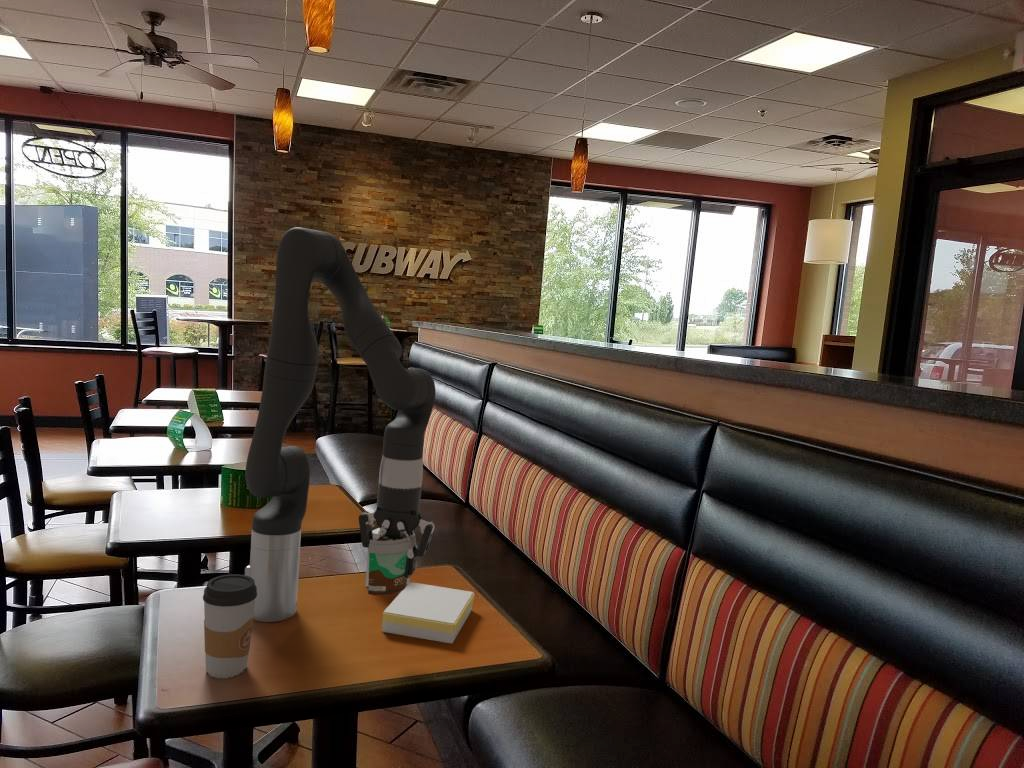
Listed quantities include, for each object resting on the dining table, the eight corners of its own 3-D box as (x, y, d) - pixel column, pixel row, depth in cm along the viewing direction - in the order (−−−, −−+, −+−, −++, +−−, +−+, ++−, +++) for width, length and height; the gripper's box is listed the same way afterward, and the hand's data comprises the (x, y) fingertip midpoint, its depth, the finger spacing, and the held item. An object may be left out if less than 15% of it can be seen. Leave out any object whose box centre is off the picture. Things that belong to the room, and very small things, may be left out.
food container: (398, 603, 119) (403, 546, 118) (364, 597, 120) (368, 540, 119) (421, 577, 131) (425, 525, 130) (390, 572, 132) (394, 521, 131)
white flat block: (381, 632, 135) (382, 612, 134) (408, 599, 151) (409, 581, 150) (453, 644, 132) (455, 624, 132) (473, 610, 148) (474, 592, 148)
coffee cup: (235, 686, 112) (240, 596, 110) (188, 677, 113) (192, 588, 112) (262, 661, 120) (267, 577, 119) (218, 653, 121) (222, 570, 120)
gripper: (353, 480, 121) (346, 575, 123) (433, 491, 119) (425, 588, 120) (369, 471, 128) (362, 560, 130) (445, 482, 126) (437, 573, 128)
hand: (392, 573), depth 125 cm, fingers closed on food container, 5 cm apart
